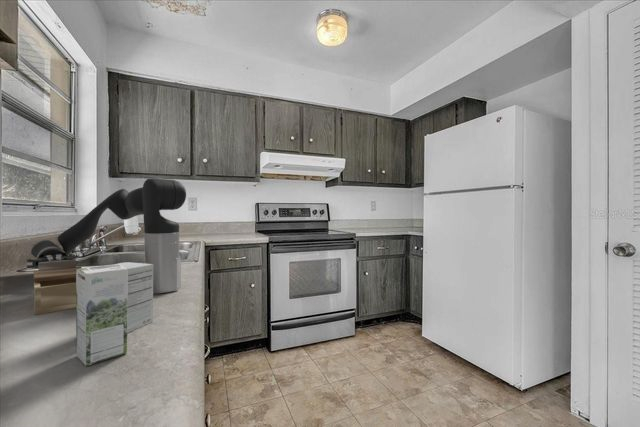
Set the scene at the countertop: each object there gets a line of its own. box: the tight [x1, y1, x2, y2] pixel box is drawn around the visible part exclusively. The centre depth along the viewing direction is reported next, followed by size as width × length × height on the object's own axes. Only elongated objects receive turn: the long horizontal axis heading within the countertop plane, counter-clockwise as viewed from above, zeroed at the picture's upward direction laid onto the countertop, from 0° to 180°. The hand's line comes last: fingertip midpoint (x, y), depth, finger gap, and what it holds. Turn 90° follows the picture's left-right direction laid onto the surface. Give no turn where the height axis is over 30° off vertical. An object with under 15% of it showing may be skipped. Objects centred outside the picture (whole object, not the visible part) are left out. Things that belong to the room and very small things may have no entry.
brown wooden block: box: [33, 259, 83, 283], centre depth 81 cm, size 14×10×3 cm
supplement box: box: [112, 261, 154, 334], centre depth 61 cm, size 7×7×13 cm
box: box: [33, 277, 76, 316], centre depth 75 cm, size 12×10×6 cm
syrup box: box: [75, 263, 128, 367], centre depth 49 cm, size 6×6×14 cm
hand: (55, 264), depth 89 cm, fingers closed
